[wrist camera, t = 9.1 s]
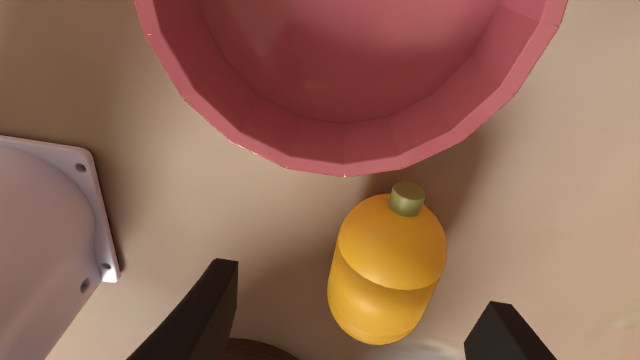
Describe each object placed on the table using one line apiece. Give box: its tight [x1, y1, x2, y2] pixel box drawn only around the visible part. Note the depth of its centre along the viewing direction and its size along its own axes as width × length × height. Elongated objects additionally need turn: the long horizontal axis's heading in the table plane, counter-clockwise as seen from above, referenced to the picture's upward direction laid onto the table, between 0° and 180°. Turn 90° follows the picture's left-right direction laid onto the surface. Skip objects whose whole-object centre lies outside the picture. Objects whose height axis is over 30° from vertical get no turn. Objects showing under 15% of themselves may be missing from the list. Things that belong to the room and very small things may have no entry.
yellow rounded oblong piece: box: [327, 181, 447, 345], centre depth 18 cm, size 9×5×5 cm, turn 172°
